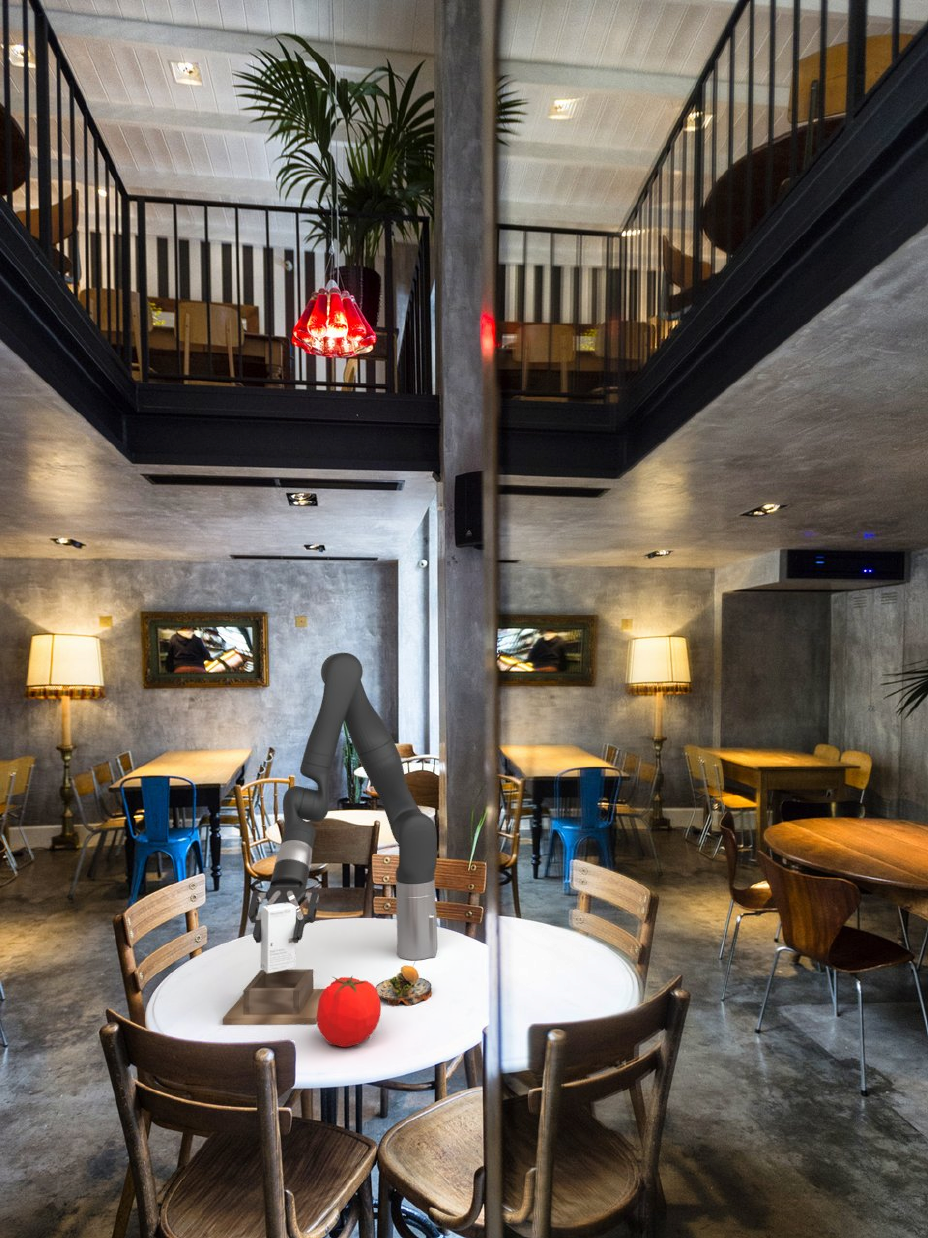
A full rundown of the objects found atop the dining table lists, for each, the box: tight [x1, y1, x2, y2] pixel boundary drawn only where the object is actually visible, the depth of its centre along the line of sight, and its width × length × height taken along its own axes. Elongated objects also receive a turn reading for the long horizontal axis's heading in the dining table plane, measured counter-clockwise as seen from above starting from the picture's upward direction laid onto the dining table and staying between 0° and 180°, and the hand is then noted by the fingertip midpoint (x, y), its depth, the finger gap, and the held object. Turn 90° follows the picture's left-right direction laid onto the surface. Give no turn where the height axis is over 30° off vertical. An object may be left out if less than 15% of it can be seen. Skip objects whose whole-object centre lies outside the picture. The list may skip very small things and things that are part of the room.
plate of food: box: [375, 961, 433, 1007], centre depth 162 cm, size 12×12×8 cm
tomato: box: [316, 975, 382, 1048], centre depth 141 cm, size 12×12×11 cm
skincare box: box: [260, 902, 297, 974], centre depth 157 cm, size 6×4×12 cm
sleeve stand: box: [222, 968, 325, 1026], centre depth 156 cm, size 18×14×6 cm
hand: (276, 941), depth 156 cm, fingers closed on skincare box, 7 cm apart
